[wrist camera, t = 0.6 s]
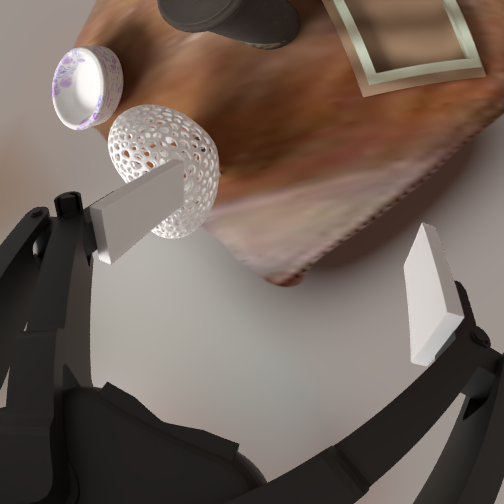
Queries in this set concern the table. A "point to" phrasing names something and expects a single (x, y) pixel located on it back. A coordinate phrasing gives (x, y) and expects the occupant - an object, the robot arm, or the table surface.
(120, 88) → the paper bowls
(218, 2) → the container
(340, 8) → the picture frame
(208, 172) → the decorative heart
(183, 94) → the table surface
